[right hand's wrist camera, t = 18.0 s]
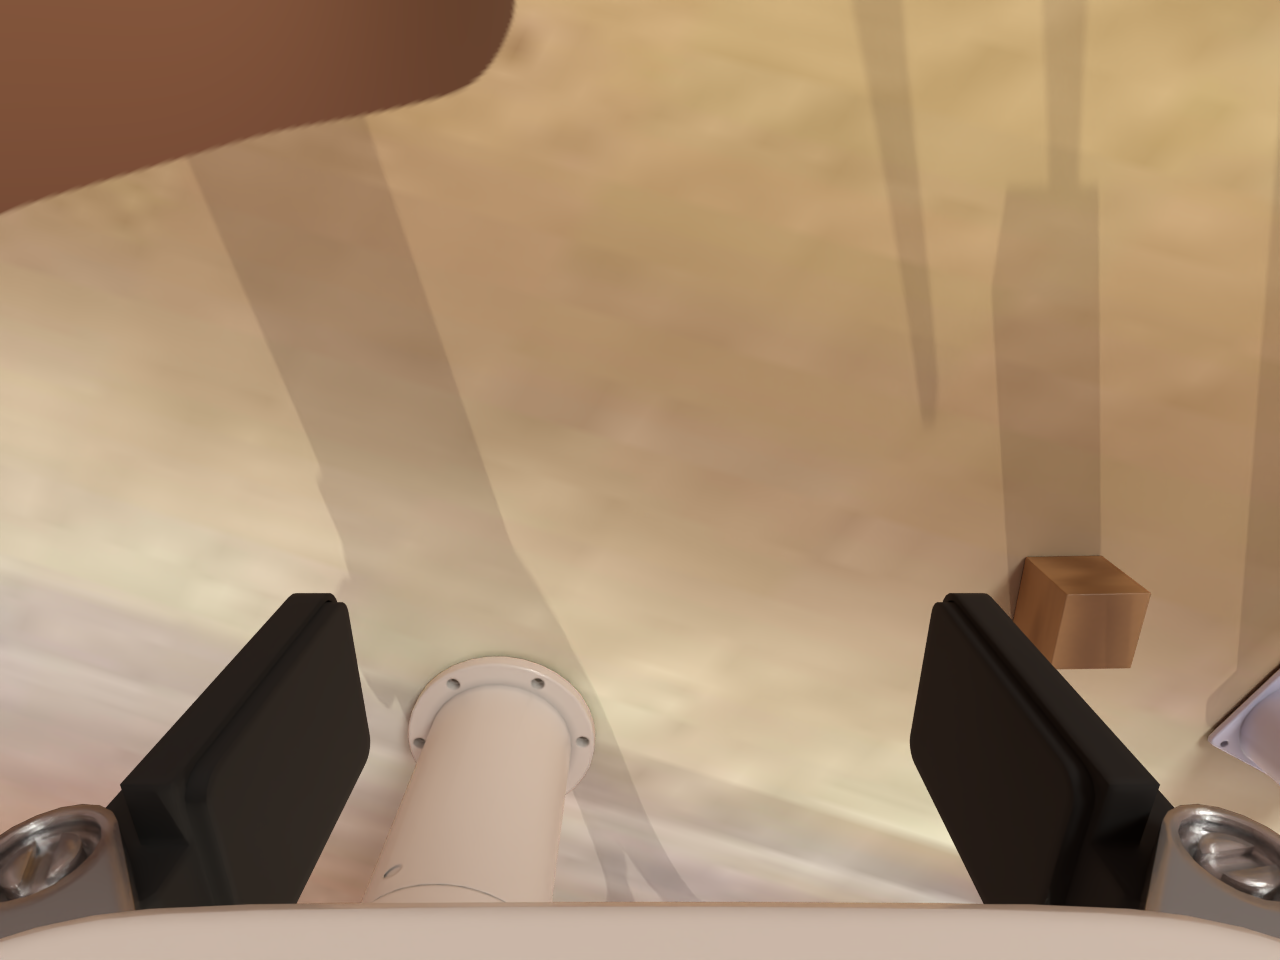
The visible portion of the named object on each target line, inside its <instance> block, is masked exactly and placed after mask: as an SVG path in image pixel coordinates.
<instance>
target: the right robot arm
mask: <svg viewBox="0 0 1280 960" xmlns="http://www.w3.org/2000/svg"><path fill="white" fill-rule="evenodd" d="M408 740H409V745H410V750H411V753H412V755H413V758H414V760H415V762H416V767H415V769H414V772H413V774H412V777H411V779H410V782H409V784H408V787H407V789H406V791H405V794H404V796H403V799H402V801H401V804H400V806H399V809H398V811H397V814H396V816H395V819H394V821H393V824H392V826H391V829H390V831H389V834H388V836H387V839H386V841H385V844H384V846H383V849H382V851H381V854H380V856H379V859H378V861H377V864H376V866H375V869H374V871H373V874H372V876H371V879H370V881H369V884H368V886H367V889H366V891H365V894H364V896H363V899H362V901H361V903H318V904H296V903H297V901H298V899H299V897H300V895H301V893H302V891H303V889H304V887H305V885H306V883H307V881H308V879H309V877H310V875H311V873H312V871H313V869H314V867H315V865H316V863H317V861H318V859H319V857H320V855H321V853H322V851H323V849H324V847H325V845H326V843H327V841H328V839H329V837H330V835H331V832H332V830H333V828H334V826H335V824H336V822H337V820H338V818H339V816H340V814H341V812H342V810H343V808H344V806H345V804H346V802H347V800H348V798H349V796H350V794H351V792H352V790H353V788H354V786H355V784H356V782H357V780H358V778H359V776H360V774H361V772H362V770H363V768H364V766H365V764H366V761H367V759H368V755H369V749H370V734H369V729H368V723H367V717H366V711H365V705H364V700H363V694H362V688H361V682H360V677H359V671H358V665H357V659H356V653H355V648H354V642H353V636H352V630H351V624H350V619H349V613H348V609H347V606H346V605H345V603H343V602H337V600H336V598H335V597H334V595H332V594H331V593H295V594H292V595H291V596H290V597H288V599H287V600H286V601H285V602H284V603H283V604H282V605H281V606H280V607H279V609H278V610H277V611H276V612H275V613H274V614H273V615H272V616H271V617H270V619H269V620H268V621H267V622H266V623H265V624H264V625H263V626H262V627H261V629H260V630H259V631H258V632H257V633H256V634H255V635H254V636H253V637H252V639H251V640H250V641H249V642H248V643H247V644H246V645H245V646H244V647H243V649H242V650H241V651H240V652H239V653H238V654H237V655H236V656H235V657H234V659H233V660H232V661H231V662H230V663H229V664H228V665H227V666H226V667H225V669H224V670H223V671H222V672H221V673H220V674H219V675H218V676H217V677H216V679H215V680H214V681H213V682H212V683H211V684H210V685H209V686H208V687H207V689H206V690H205V691H204V692H203V693H202V694H201V695H200V696H199V697H198V699H197V700H196V701H195V702H194V703H193V704H192V705H191V706H190V707H189V709H188V710H187V711H186V712H185V713H184V714H183V715H182V716H181V717H180V719H179V720H178V721H177V722H176V723H175V724H174V725H173V726H172V727H171V729H170V730H169V731H168V732H167V733H166V734H165V735H164V736H163V737H162V739H161V740H160V741H159V742H158V743H157V744H156V745H155V746H154V747H153V749H152V750H151V751H150V752H149V753H148V754H147V755H146V756H145V757H144V759H143V760H142V761H141V762H140V763H139V764H138V765H137V766H136V767H135V769H134V770H133V771H132V772H131V773H130V774H129V775H128V776H127V777H126V779H125V780H124V781H123V782H122V783H121V784H120V786H121V789H122V790H121V791H120V792H119V793H118V795H117V796H116V797H115V798H114V799H113V800H112V801H111V802H110V804H109V805H108V806H107V807H106V808H104V807H102V806H100V805H88V804H80V805H73V806H67V807H61V808H58V809H55V810H52V811H49V812H45V813H42V814H39V815H37V816H34V817H32V818H30V819H28V820H26V821H24V822H22V823H20V824H18V825H16V826H14V827H12V828H10V829H9V830H7V831H6V832H4V833H3V834H1V835H0V960H1280V835H1279V834H1277V833H1276V832H1274V831H1273V830H1271V829H1270V828H1268V827H1266V826H1264V825H1262V824H1260V823H1258V822H1256V821H1254V820H1252V819H1250V818H1248V817H1246V816H1243V815H1241V814H1238V813H1235V812H1231V811H1228V810H1225V809H1222V808H1219V807H1213V806H1207V805H1200V804H1192V805H1180V806H1178V807H1176V808H1174V807H1173V806H1172V805H1171V804H1170V802H1169V801H1168V800H1167V799H1166V798H1165V797H1164V796H1163V795H1162V793H1161V792H1160V791H1159V790H1158V789H1159V786H1160V784H1159V783H1158V782H1157V781H1156V780H1155V779H1154V777H1153V776H1152V775H1151V774H1150V773H1149V772H1148V771H1147V770H1146V769H1145V767H1144V766H1143V765H1142V764H1141V763H1140V762H1139V761H1138V760H1137V759H1136V757H1135V756H1134V755H1133V754H1132V753H1131V752H1130V751H1129V750H1128V749H1127V747H1126V746H1125V745H1124V744H1123V743H1122V742H1121V741H1120V740H1119V739H1118V737H1117V736H1116V735H1115V734H1114V733H1113V732H1112V731H1111V730H1110V729H1109V727H1108V726H1107V725H1106V724H1105V723H1104V722H1103V721H1102V720H1101V719H1100V717H1099V716H1098V715H1097V714H1096V713H1095V712H1094V711H1093V710H1092V709H1091V707H1090V706H1089V705H1088V704H1087V703H1086V702H1085V701H1084V700H1083V699H1082V697H1081V696H1080V695H1079V694H1078V693H1077V692H1076V691H1075V690H1074V689H1073V687H1072V686H1071V685H1070V684H1069V683H1068V682H1067V681H1066V680H1065V679H1064V677H1063V676H1062V675H1061V674H1060V673H1059V672H1058V671H1057V670H1056V669H1055V667H1054V666H1053V665H1052V664H1051V663H1050V662H1049V661H1048V660H1047V659H1046V657H1045V656H1044V655H1043V654H1042V653H1041V652H1040V651H1039V650H1038V649H1037V647H1036V646H1035V645H1034V644H1033V643H1032V642H1031V641H1030V640H1029V639H1028V637H1027V636H1026V635H1025V634H1024V633H1023V632H1022V631H1021V630H1020V629H1019V627H1018V626H1017V625H1016V624H1015V623H1014V622H1013V621H1012V620H1011V619H1010V617H1009V616H1008V615H1007V614H1006V613H1005V612H1004V611H1003V610H1002V609H1001V607H1000V606H999V605H998V604H997V603H996V602H995V601H994V600H993V599H992V597H990V596H989V595H988V594H985V593H949V594H948V595H946V597H945V598H944V600H943V602H937V603H935V605H934V606H933V609H932V613H931V619H930V624H929V630H928V636H927V642H926V648H925V653H924V659H923V665H922V671H921V677H920V682H919V688H918V694H917V700H916V705H915V711H914V717H913V723H912V729H911V734H910V750H911V755H912V759H913V761H914V764H915V766H916V768H917V770H918V772H919V774H920V776H921V778H922V780H923V782H924V784H925V786H926V788H927V790H928V792H929V794H930V796H931V798H932V800H933V802H934V804H935V806H936V808H937V810H938V812H939V814H940V816H941V818H942V820H943V822H944V824H945V826H946V828H947V830H948V832H949V835H950V837H951V839H952V841H953V843H954V845H955V847H956V849H957V851H958V853H959V855H960V857H961V859H962V861H963V863H964V865H965V867H966V869H967V871H968V873H969V875H970V877H971V879H972V881H973V883H974V885H975V887H976V889H977V891H978V893H979V895H980V897H981V899H982V901H983V903H984V904H954V903H817V902H552V896H553V888H554V880H555V872H556V864H557V857H558V849H559V841H560V833H561V825H562V817H563V809H564V802H565V795H566V794H568V793H569V792H570V791H571V790H573V789H574V788H575V787H576V786H577V785H578V783H579V782H580V781H581V780H582V779H583V778H584V776H585V774H586V772H587V770H588V769H589V767H590V765H591V761H592V757H593V753H594V746H595V728H594V721H593V718H592V715H591V712H590V709H589V707H588V705H587V704H586V702H585V701H584V699H583V697H582V696H581V694H580V693H579V692H578V691H577V690H576V689H575V688H574V687H573V686H572V685H571V683H569V682H568V681H567V680H565V679H564V678H563V677H561V676H560V675H559V674H557V673H556V672H554V671H552V670H550V669H548V668H546V667H544V666H542V665H540V664H537V663H534V662H531V661H527V660H524V659H519V658H512V657H506V656H495V657H482V658H476V659H470V660H467V661H464V662H461V663H458V664H456V665H453V666H451V667H450V668H448V669H446V670H444V671H443V672H441V673H439V674H438V675H437V676H436V677H435V678H434V679H433V680H431V681H430V682H429V683H428V684H427V685H426V687H425V688H424V690H423V691H422V692H421V694H420V695H419V697H418V699H417V701H416V704H415V706H414V708H413V710H412V713H411V717H410V720H409V724H408Z"/></svg>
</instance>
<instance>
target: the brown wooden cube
mask: <svg viewBox="0 0 1280 960" xmlns="http://www.w3.org/2000/svg"><path fill="white" fill-rule="evenodd" d="M1150 596H1151V593H1150V592H1149V591H1147V590H1146V589H1145V588H1143V587H1142V586H1141V585H1139V584H1138V583H1137V582H1136V581H1134V580H1133V579H1132V578H1130V577H1129V576H1128V575H1126V574H1125V573H1124V572H1122V571H1121V570H1120V569H1118V568H1117V567H1116V566H1114V565H1113V564H1112V563H1111V562H1109V561H1108V560H1107V559H1105V558H1104V557H1103V556H1055V557H1026V559H1025V564H1024V569H1023V574H1022V579H1021V584H1020V589H1019V594H1018V599H1017V604H1016V609H1015V614H1014V619H1013V622H1014V623H1015V624H1016V625H1017V626H1018V627H1019V629H1020V630H1021V631H1022V632H1023V633H1024V634H1025V635H1026V636H1027V637H1028V639H1029V640H1030V641H1031V642H1032V643H1033V644H1034V645H1035V646H1036V647H1037V649H1038V650H1039V651H1040V652H1041V653H1042V654H1043V655H1044V656H1045V657H1046V659H1047V660H1048V661H1049V662H1050V663H1051V664H1052V665H1053V666H1054V667H1055V669H1106V668H1131V664H1132V660H1133V657H1134V653H1135V650H1136V646H1137V642H1138V639H1139V635H1140V632H1141V628H1142V625H1143V621H1144V617H1145V614H1146V610H1147V607H1148V603H1149V599H1150Z"/></svg>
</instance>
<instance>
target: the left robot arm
mask: <svg viewBox="0 0 1280 960" xmlns="http://www.w3.org/2000/svg"><path fill="white" fill-rule="evenodd" d="M1208 741H1209V742H1210V743H1211V744H1212V745H1213V746H1215V747H1217V748H1219V749H1220V750H1222V751H1224V752H1226V753H1228V754H1230V755H1232V756H1234V757H1235V758H1237V759H1239V760H1241V761H1243V762H1245V763H1247V764H1249V765H1251V766H1252V767H1254V768H1256V769H1258V770H1260V771H1262V772H1264V773H1266V774H1267V775H1268V776H1270V777H1271V778H1272V779H1273V780H1274V781H1275V782H1276V783H1277V784H1278V785H1280V669H1279V670H1278V671H1277V672H1276V673H1274V674H1273V675H1272V676H1271V677H1270V678H1269V679H1268V680H1267V681H1266V682H1265V683H1264V684H1263V685H1262V686H1261V687H1260V688H1259V689H1257V690H1256V691H1255V692H1254V693H1253V694H1252V695H1251V696H1250V697H1249V698H1248V699H1247V700H1246V701H1245V702H1244V703H1243V704H1242V705H1241V706H1239V707H1238V708H1237V709H1236V710H1235V711H1234V712H1233V713H1232V714H1231V715H1230V716H1229V717H1228V718H1227V719H1226V720H1225V721H1224V722H1222V723H1221V724H1220V725H1219V726H1218V727H1217V728H1216V729H1215V730H1214V731H1213V732H1212V733H1211V734H1210V735H1209V736H1208Z"/></svg>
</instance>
